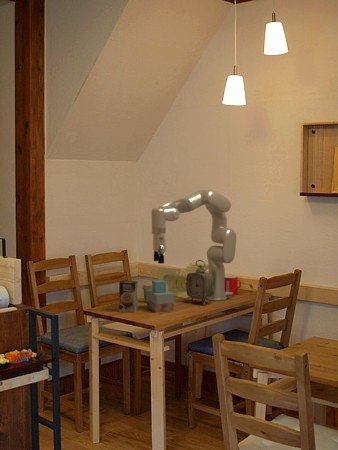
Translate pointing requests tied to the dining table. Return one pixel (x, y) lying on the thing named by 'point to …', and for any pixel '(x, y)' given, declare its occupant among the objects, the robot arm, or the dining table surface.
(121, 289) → the coffee box
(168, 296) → the white box
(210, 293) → the tabletop clock
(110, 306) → the dining table surface
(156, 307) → the base block
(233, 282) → the mug
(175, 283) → the slatted curved stool
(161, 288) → the teal cube
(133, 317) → the dining table surface
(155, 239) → the robot arm
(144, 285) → the food container
